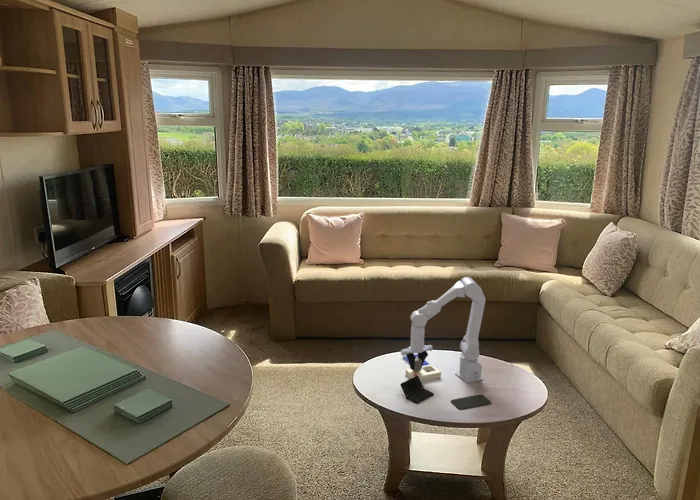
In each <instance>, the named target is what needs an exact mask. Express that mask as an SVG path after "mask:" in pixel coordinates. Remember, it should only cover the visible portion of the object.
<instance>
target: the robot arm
mask: <svg viewBox="0 0 700 500" xmlns="http://www.w3.org/2000/svg"><path fill="white" fill-rule="evenodd" d="M466 296H467V297H468V298H470V299H471V301H472V302H471V308H470V313H469V317H468V322H467V327H466V332H465V335H464V336H463V339H462V340H461V341H460V344H459V349H460V350H461V353H460V357H459V371H457V372H454V375H456V376H457V377H459V378H461V380H462V381H464V382H465V383H467V384H469V383H473V382H479V381H482V380H483V377H482V369H483V368H482V364H481V363H480V362H479V360H478V359H479V357H480V350H479V347H480V345H479V343H480V342H479V335H480V330H481V325H482V321H483V315H484V310H485V307H486V306H485V305H486V301H487V300H486V296H485V294H484V291H483V289H482V287H481V286H480V285H479V284H478V283H477V282H476V281H475V280H474V279H473V278H471V277H470V276H464V277H461V279H460V280H458V281H456V283H454V284H453V286H452V287H451V288H449V289H448V290H447V291H446V292H445V293H443V294H442V295H441V296H440V297H438V298H437V299H436V300H433V299H432V300H430V301H429V300H428V301H427V302H426V304H425V305H423V306H422V307H421V308H418V309H417V310H414V311H412V313H411V314H410V316H409V319H410V321H411V326H410V346H408V347H407V348H404V349H401V350H400V355H401V356H402V357H404V356H407V358H408V361H409V364H410V365H409V364H408V365H409V369H410V368H411V369H412V370H414V363H415V359H416V357H415V356H414V354H418V357H419V358H420V359H421V360H422V365H423V363H424V360H425V361H426V359H427V357H428V355H429V353H428V351H429V352H432V351H433V347H434V346H433V345H431V344H428V345H426V344H425V332H426V331H425V326H426V325H427V323H428V321H429V320H430V319H432V318H433V317H434V316H436V315H437V314H439V313H440V312H441V308H442V307H444V306H445V305H446V304H448V303H450V302H451V301H453V300H454V299H456V298H457V297H458V298H465V297H466ZM421 368H422V366H421Z"/></svg>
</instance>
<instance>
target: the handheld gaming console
mask: <svg viewBox="0 0 700 500" xmlns="http://www.w3.org/2000/svg"><path fill="white" fill-rule="evenodd" d="M400 387H401V389H402V391H403V394H404V396H405V399H406V400H408V401H410V402H412V403H414V404H415V405H418V404H420V403H422V402H423V401H426V400H427V399H429V398H431V397H432V396H434V395H435V393H434V392H432V391H430V390H428V389H426V388H425V387H424V385H423V383H422V381H420V379H419V377H418V376H415V377H413V378H411V379H410V378H409V379H407V380H405V381H403V382H401V383H400Z"/></svg>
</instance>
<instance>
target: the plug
mask: <svg viewBox="0 0 700 500" xmlns="http://www.w3.org/2000/svg"><path fill="white" fill-rule="evenodd" d="M421 366H422V360H421V359H420V358H419V357H416V359H415V363H414V370H413V372H416V371H417V372H418V373H419V372H420V371H421ZM409 369H411V368H410V367H409Z"/></svg>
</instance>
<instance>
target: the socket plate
mask: <svg viewBox="0 0 700 500" xmlns="http://www.w3.org/2000/svg"><path fill="white" fill-rule="evenodd" d="M405 376H406V377H408V378H409V379H411V378H413V377H415V376H418V377H419V379H420V381H421V382H425V381H429V380H434V379H438V378H441V377H442V371H440V369H438V368H437V367H435V366H434V365H432V364H430V365H426V366H422V368H421V371H420V372H419V373H418V372H417V371H416V372H413V370H412V369H410V368H406V369H405Z"/></svg>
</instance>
